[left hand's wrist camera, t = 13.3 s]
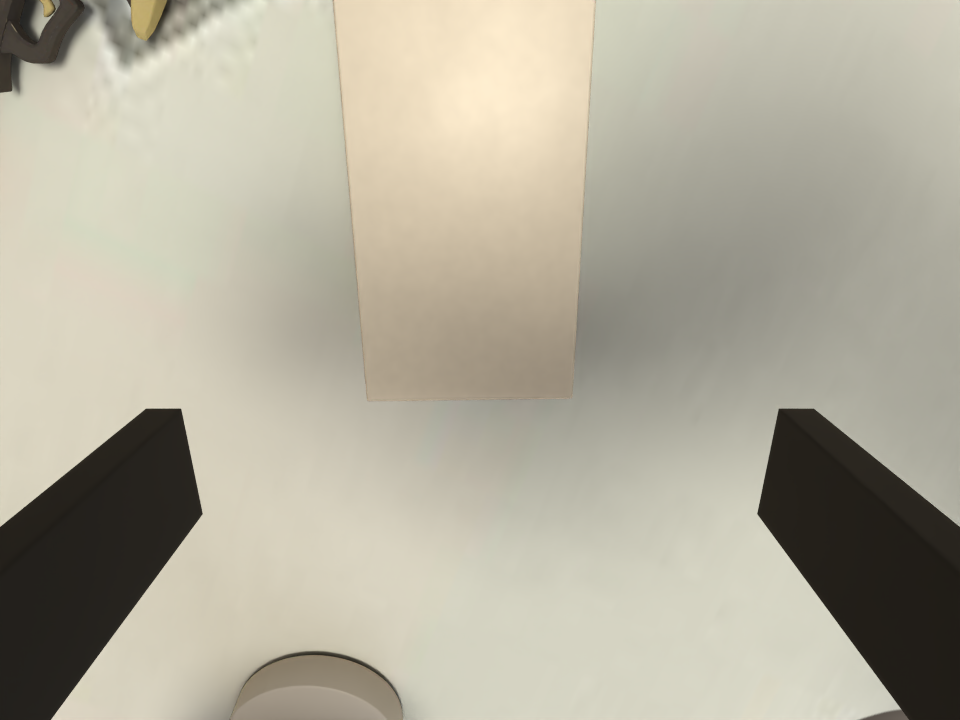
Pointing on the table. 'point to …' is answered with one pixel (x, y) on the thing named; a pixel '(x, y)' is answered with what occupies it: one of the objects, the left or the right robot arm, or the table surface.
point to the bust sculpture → (316, 692)
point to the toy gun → (57, 30)
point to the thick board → (466, 191)
